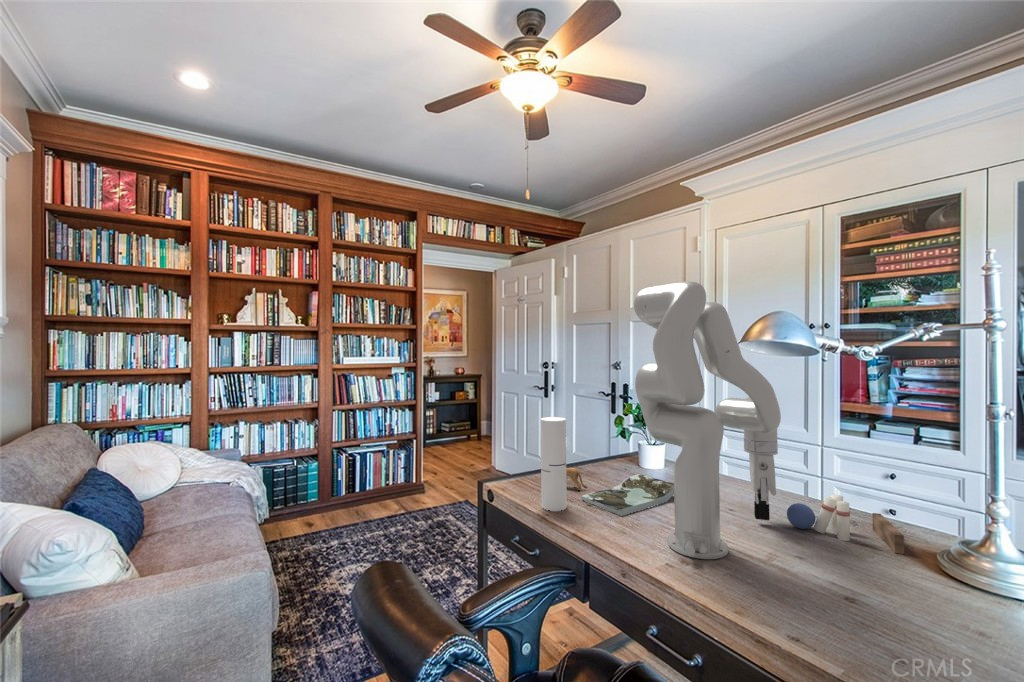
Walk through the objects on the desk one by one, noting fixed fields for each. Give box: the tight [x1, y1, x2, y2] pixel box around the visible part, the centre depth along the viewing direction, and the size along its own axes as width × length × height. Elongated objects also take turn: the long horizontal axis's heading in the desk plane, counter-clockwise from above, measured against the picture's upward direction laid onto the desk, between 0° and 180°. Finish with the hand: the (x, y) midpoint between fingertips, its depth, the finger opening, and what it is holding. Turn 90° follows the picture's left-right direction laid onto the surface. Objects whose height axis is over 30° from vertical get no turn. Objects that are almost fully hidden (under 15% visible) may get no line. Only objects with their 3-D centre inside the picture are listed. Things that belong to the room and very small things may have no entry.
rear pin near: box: [836, 500, 851, 542], centre depth 105 cm, size 3×3×8 cm
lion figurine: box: [566, 467, 588, 491], centre depth 146 cm, size 15×5×9 cm, turn 71°
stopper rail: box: [872, 512, 905, 555], centre depth 104 cm, size 14×2×4 cm, turn 157°
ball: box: [786, 502, 816, 530], centre depth 112 cm, size 6×6×6 cm
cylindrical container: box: [540, 416, 568, 512], centre depth 129 cm, size 7×7×25 cm
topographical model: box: [581, 473, 674, 517], centre depth 134 cm, size 26×15×5 cm, turn 124°
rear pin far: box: [830, 493, 844, 533], centre depth 110 cm, size 3×3×8 cm
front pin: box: [812, 495, 837, 534], centre depth 109 cm, size 3×3×8 cm
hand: (761, 518), depth 114 cm, fingers closed
